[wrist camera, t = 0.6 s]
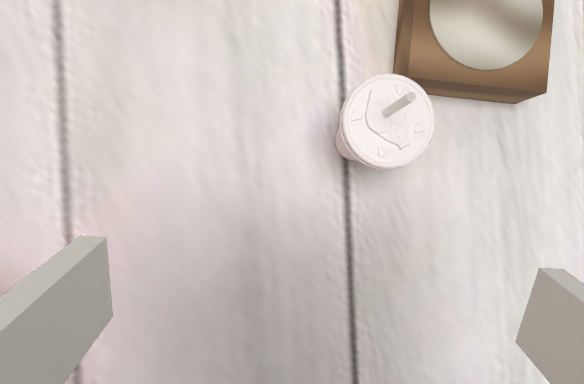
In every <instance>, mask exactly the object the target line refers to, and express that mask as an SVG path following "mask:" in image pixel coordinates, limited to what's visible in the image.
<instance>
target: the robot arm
mask: <svg viewBox="0 0 584 384" xmlns="http://www.w3.org/2000/svg"><path fill="white" fill-rule="evenodd" d="M112 317H113V312H112V300H111V288H110V276H109V264H108V252H107V240H106V237H92V236H79V237H78V238H76V239H75V240H74V241H73V242H71V243H70V244H69V245H67V246H66V247H65V248H63V249H62V250H61V251H60V252H58V253H57V254H56V255H54V256H53V257H52V258H50V259H49V260H48V261H47V262H45V263H44V264H43V265H41V266H40V267H39V268H37V269H36V270H35V271H34V272H32V273H31V274H30V275H28V276H27V277H26V278H24V279H23V280H22V281H21V282H19V283H18V284H17V285H15V286H14V287H13V288H12V289H10V290H9V291H8V292H6V293H5V294H4V295H2V296H1V297H0V384H63V383H64V382H65V381H66V379H67V378H68V377H69V375H70V374H71V373H72V371H73V370H74V368H75V367H76V366H77V364H78V363H79V362H80V360H81V359H82V358H83V356H84V355H85V353H86V352H87V351H88V349H89V348H90V347H91V345H92V344H93V343H94V341H95V340H96V338H97V337H98V336H99V334H100V333H101V332H102V330H103V329H104V328H105V326H106V325H107V323H108V322H109V321H110V319H111V318H112ZM515 342H516V343H517V344H518V346H519V347H520V348H521V349H522V350H523V351H524V353H525V354H526V355H527V356H528V357H529V359H530V360H531V361H532V362H533V363H534V365H535V366H536V367H537V368H538V369H539V371H540V372H541V373H542V374H543V375H544V376H545V378H546V379H547V380H548V381H549V382H550V384H584V284H583V283H582V282H581V281H579V280H578V279H576V278H575V277H574V276H572V275H571V274H569V273H568V272H567V271H565V270H564V269H552V268H539V270H538V273H537V276H536V279H535V282H534V285H533V288H532V291H531V295H530V298H529V301H528V304H527V307H526V310H525V313H524V316H523V319H522V322H521V326H520V329H519V332H518V335H517V338H516V341H515Z"/></svg>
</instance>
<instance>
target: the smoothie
mask: <svg viewBox="0 0 584 384" xmlns="http://www.w3.org/2000/svg"><path fill="white" fill-rule="evenodd" d="M339 125H340V126H339V128H338V131H337V134H336V137H335V144H336V148H337V150H338V152H339V153H340V154H341V155H342V156H343V157H344V158H346V159H349V160H353V161H359V162H361V163H363V164H364V165H367V166H369V167H372V168H374V169H382V170H390V169H397V168H400V167H402V166H405V165H407V164H410V163H411V162H413V161H415V160H416V159H418V158H419V157H420V156H421V155H422V154H423V153H424V152H425V150H426V149H427V148H428V146H429V144H430V142H431V140H432V138H433V135H434V130H435V112H434V108H433V105H432V103H431V100H430V98H429V97H428V95H427V94H426V92H425V91H424V90H423V89H422V88H421V87H420V86H419V85H418V84H417V83H416V82H414V81H413V80H411V79H409V78H407V77H405V76H401V75H397V74H380V75H376V76H373V77H370V78H368V79H366V80H365V81H363V82H362V83H360V84H359V85H358V86H357V87H356V88H355V89H353V90H352V91H351V93H350V94H349V95H348V97H347V98H346V100H345V102H344V104H343V107H342V110H341V113H340V123H339Z"/></svg>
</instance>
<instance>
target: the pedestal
mask: <svg viewBox="0 0 584 384" xmlns="http://www.w3.org/2000/svg"><path fill="white" fill-rule="evenodd" d="M553 12H554V0H399V11H398V22H397V34H396V45H395V56H394V68H393V74H397V75H401V76H405V77H407V78H409V79H411V80H413V81H414V82H416V83H417V84H418V85H419V86H420V87H421V88H422V89H423V90H424V91H425V92H426V94H429V95H438V96H447V97H456V98H465V99H474V100H483V101H492V102H501V103H510V104H516V103H519V102H521V101H524V100H527V99H530V98H533V97H536V96H538V95H541V94H544V93H546V92H547V81H548V69H549V58H550V46H551V35H552V23H553Z"/></svg>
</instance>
